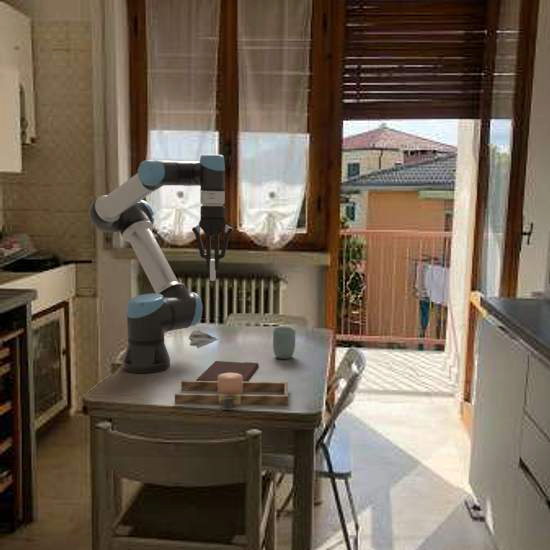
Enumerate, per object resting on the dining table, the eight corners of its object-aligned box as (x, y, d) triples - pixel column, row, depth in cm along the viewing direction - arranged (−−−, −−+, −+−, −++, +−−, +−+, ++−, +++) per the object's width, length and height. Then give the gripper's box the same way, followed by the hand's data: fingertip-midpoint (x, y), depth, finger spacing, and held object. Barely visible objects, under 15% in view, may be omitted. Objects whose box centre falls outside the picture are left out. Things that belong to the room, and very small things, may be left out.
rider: (216, 401, 168) (216, 380, 167) (218, 392, 175) (218, 372, 174) (241, 401, 168) (241, 380, 167) (243, 392, 175) (243, 372, 174)
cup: (292, 361, 206) (293, 332, 205) (270, 359, 208) (270, 331, 206) (296, 355, 214) (297, 327, 212) (275, 353, 215) (275, 326, 214)
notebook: (195, 384, 183) (195, 377, 183) (214, 365, 202) (214, 359, 202) (243, 387, 180) (243, 381, 180) (258, 368, 199) (258, 362, 199)
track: (173, 406, 163) (173, 397, 163) (181, 388, 177) (181, 380, 177) (288, 408, 163) (288, 399, 162) (287, 390, 177) (287, 382, 177)
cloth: (211, 350, 221) (211, 344, 220) (174, 349, 222) (174, 343, 222) (223, 333, 246) (224, 327, 246) (190, 332, 248) (190, 326, 247)
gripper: (189, 205, 184) (190, 281, 188) (232, 205, 184) (232, 282, 188) (193, 204, 192) (194, 277, 195) (234, 205, 192) (234, 278, 195)
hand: (212, 279), depth 192 cm, fingers closed
